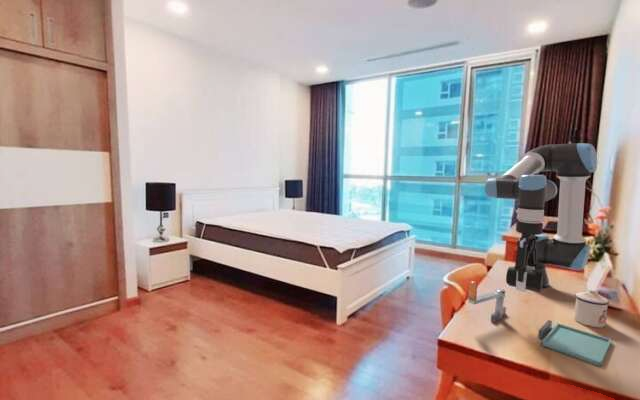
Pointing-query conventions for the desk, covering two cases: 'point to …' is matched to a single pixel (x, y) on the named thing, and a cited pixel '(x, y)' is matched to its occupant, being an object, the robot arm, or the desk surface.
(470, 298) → the crank handle
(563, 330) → the tray
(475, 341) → the desk surface
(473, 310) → the desk surface
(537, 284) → the end cap
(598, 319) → the teacup with lid
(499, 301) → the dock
